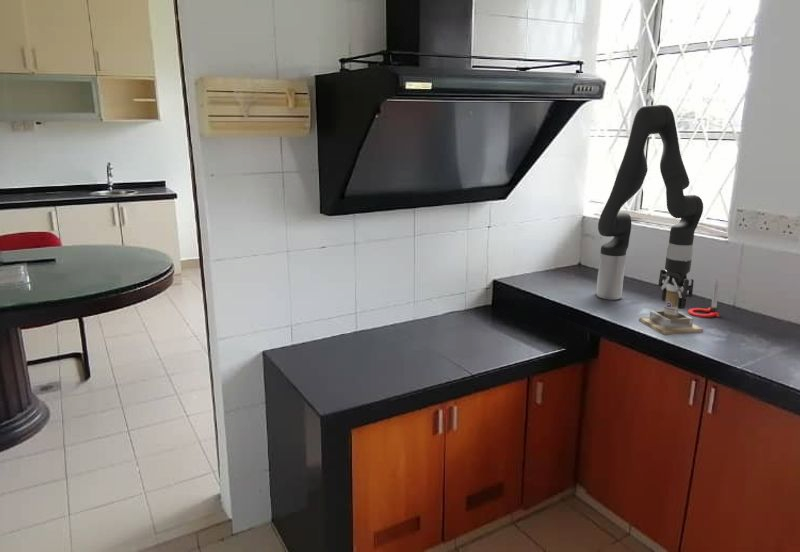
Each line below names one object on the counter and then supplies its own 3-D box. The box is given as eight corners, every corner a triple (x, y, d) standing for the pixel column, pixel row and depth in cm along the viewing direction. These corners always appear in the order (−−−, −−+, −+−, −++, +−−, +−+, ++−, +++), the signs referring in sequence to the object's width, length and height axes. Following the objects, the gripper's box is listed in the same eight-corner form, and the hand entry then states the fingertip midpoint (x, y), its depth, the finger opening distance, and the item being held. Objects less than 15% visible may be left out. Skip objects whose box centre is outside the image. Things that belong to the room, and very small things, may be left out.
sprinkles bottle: (660, 323, 193) (665, 284, 189) (664, 319, 196) (669, 281, 192) (675, 326, 190) (679, 287, 186) (679, 322, 193) (683, 284, 189)
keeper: (639, 320, 198) (640, 309, 197) (675, 317, 201) (677, 306, 200) (663, 334, 185) (665, 323, 184) (702, 331, 187) (704, 320, 186)
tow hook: (694, 319, 201) (721, 318, 200) (697, 283, 198) (724, 282, 197) (683, 311, 209) (710, 310, 209) (686, 277, 206) (713, 276, 205)
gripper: (655, 252, 193) (649, 298, 197) (682, 262, 179) (676, 312, 183) (675, 251, 194) (669, 297, 198) (704, 261, 180) (697, 310, 185)
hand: (672, 304), depth 191 cm, fingers open, 8 cm apart
